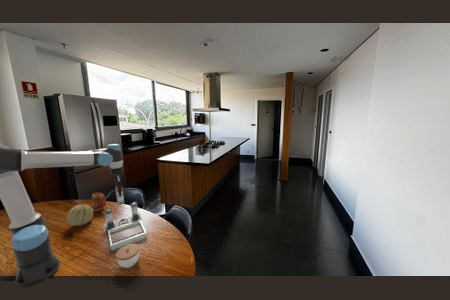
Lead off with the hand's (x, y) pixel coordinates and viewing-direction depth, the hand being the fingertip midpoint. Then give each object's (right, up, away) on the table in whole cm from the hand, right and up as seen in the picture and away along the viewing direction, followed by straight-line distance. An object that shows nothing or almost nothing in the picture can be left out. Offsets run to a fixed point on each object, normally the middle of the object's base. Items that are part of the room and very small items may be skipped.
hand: (120, 199), depth 127 cm
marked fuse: (0, -3, +1) cm, 3 cm away
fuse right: (+7, -17, +8) cm, 20 cm away
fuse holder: (0, -19, +4) cm, 19 cm away
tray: (+10, -21, -10) cm, 26 cm away
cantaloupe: (-30, -19, +4) cm, 36 cm away
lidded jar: (+23, -26, -31) cm, 46 cm away
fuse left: (-6, -18, -1) cm, 19 cm away
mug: (-29, -16, +23) cm, 40 cm away
